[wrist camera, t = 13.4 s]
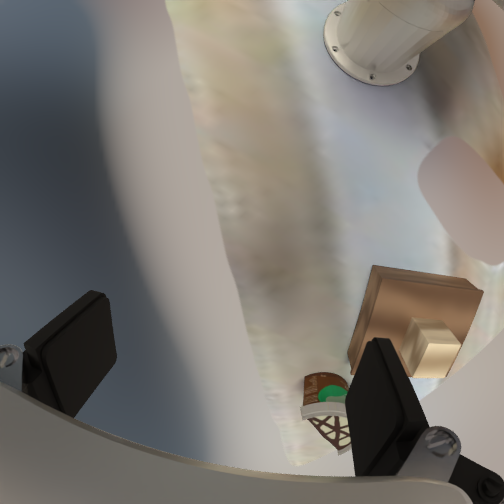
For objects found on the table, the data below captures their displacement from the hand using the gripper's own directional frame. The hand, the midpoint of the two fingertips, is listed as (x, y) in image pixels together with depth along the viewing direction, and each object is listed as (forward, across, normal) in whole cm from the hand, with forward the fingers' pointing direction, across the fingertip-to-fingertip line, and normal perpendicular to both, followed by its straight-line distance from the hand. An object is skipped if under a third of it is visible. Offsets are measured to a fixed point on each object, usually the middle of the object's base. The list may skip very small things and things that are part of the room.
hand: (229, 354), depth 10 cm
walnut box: (+28, -22, +12) cm, 38 cm away
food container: (+28, -14, +26) cm, 41 cm away
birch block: (+23, -22, +12) cm, 34 cm away
